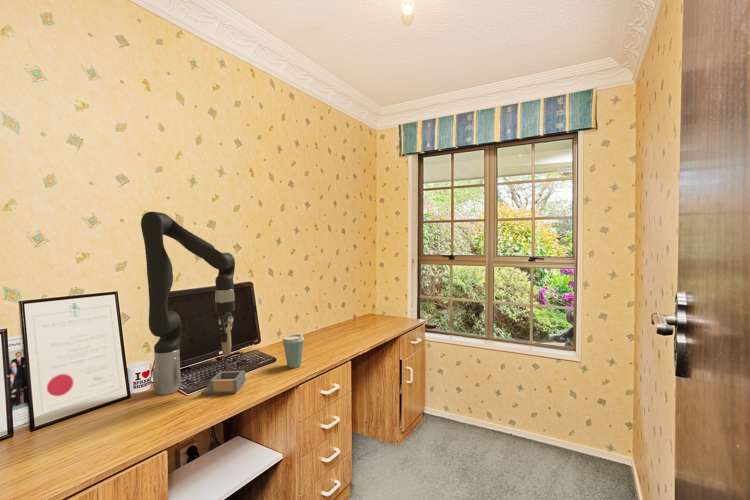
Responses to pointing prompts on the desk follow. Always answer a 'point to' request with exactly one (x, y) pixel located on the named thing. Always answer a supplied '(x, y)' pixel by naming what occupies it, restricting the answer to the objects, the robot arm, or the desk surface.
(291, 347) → the disposable coffee cup
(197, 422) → the desk surface
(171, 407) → the desk surface
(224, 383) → the socket
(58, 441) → the desk surface
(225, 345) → the handle
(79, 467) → the desk surface
